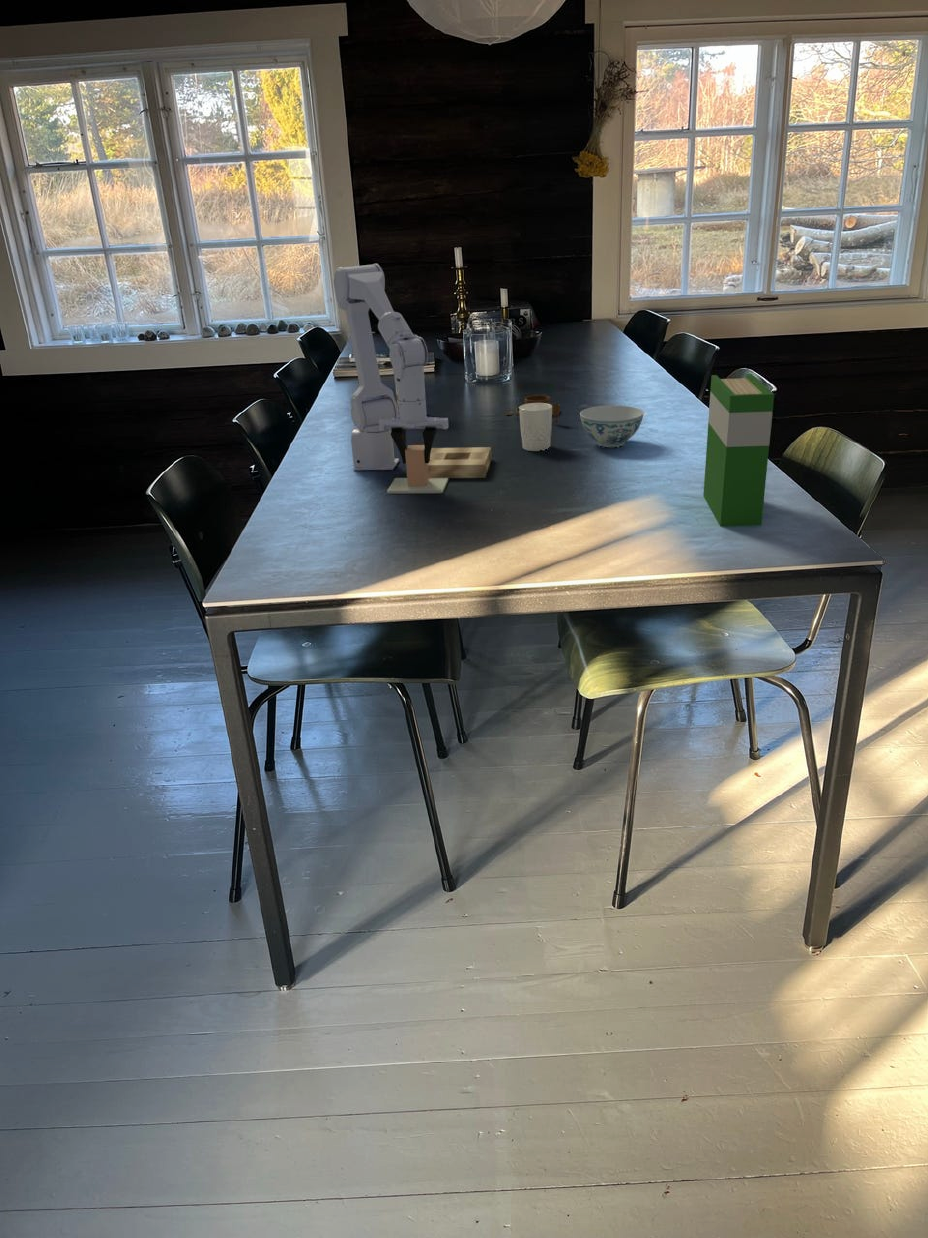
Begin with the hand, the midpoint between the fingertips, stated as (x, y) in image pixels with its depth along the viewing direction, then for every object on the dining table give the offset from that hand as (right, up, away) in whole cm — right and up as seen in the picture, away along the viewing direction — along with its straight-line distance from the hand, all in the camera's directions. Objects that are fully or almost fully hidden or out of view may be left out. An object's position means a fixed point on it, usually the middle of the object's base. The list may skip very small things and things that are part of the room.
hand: (416, 462), depth 196 cm
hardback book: (+62, -13, -20) cm, 66 cm away
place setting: (+30, +21, +54) cm, 65 cm away
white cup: (+28, +8, +26) cm, 39 cm away
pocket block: (+9, +1, +13) cm, 16 cm away
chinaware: (+46, +8, +25) cm, 53 cm away
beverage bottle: (-4, +24, +62) cm, 67 cm away
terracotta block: (0, -4, +2) cm, 5 cm away
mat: (0, -5, +2) cm, 6 cm away
